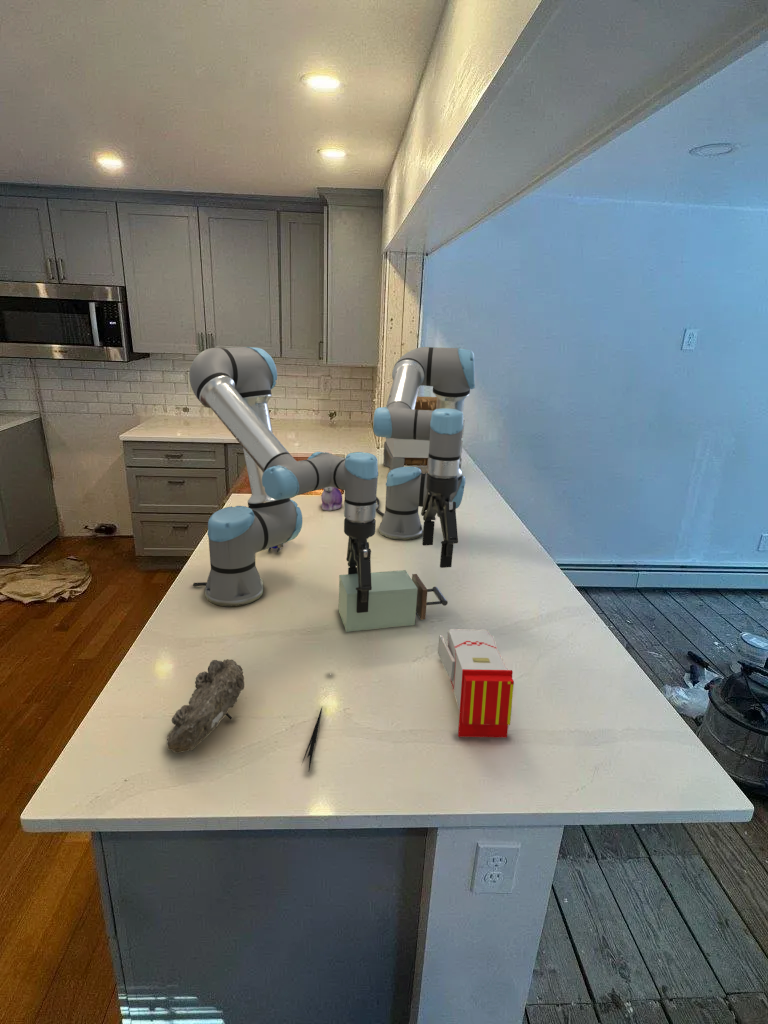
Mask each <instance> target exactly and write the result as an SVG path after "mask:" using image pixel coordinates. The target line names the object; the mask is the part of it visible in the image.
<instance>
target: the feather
mask: <svg viewBox="0 0 768 1024" xmlns="http://www.w3.org/2000/svg"><path fill="white" fill-rule="evenodd" d="M329 675H330V676H331V675H332V674H331V673H330V674H329ZM322 710H323V707H321V708H320V710H319V713H318V716H317V719H316V723H315V725H314V728H313V731H312V733H311V737H310V739H309V742H308V745H307V748H306V751H305V754H304V757H303V760H302V763H301V767H302V765H303V763H304V761H305V758H308V759H309V760H308V762H307V763H308V764H307V766H308V771H310V770H311V766H312V765H311V764H312V760H313V757H315V756H314V755H315V751H316V749H315V746H317V739H318V733H319V729H320V722H321V717H322V712H323V711H322ZM313 754H314V755H313ZM306 755H307V757H306Z"/></svg>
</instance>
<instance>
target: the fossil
mask: <svg viewBox="0 0 768 1024" xmlns="http://www.w3.org/2000/svg"><path fill="white" fill-rule="evenodd" d="M243 670H244V669H243V667H242V665H240V664H237V662H236V661H235V660H234V659H232V658H231V659H227V658H226V659H224V660H223V661H222V660H217V659H212V660H211V661H210V663H209V665H208V666H207V671H201V672H199V673H198V674H197V675H196V676H195V680H194V684H195V685H194V687H195V689H194V690H193V693H192V694H191V697H190V698H189V700H188V704H184V705H182V706H181V707H180V709H177V710H176V711H175V713H174V715H173V716H172V718H171V723H172V724H173V727H172V730H171V731H170V732H168V734H167V738H166V741H167V742H166V745H167V749H168V750H169V751H173V752H174V753H176V754H178V753H182V752H188V751H189V752H192V751H193V750H195V748H196V747H197V746H199V744H200V743H201V742H203V741H204V740H205V739H206V738H207V737H208V736H209V735H210V734H211V733H212V732H214V730H215V729H217V727H218V726H219V724H220V722H221V721H222V720H223V719H224V718H225V716H226V717H227V719H229V720H233V717H232V715H230V714H229V710H230V709H231V708H234V706H235V704H236V703H237V702H238V699H239V697H240V695H241V693H242V691H243V690H245V689H244V688H245V675H244V671H243Z"/></svg>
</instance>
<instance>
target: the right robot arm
mask: <svg viewBox="0 0 768 1024" xmlns="http://www.w3.org/2000/svg"><path fill="white" fill-rule="evenodd" d="M475 370H476V369H475V354H474V352H473V350H471V349H466V348H460V347H434V346H433V347H431V346H420V347H416V348H414V349H411V350H410V351H407V352H406V353H404V354H403V355H402V356H401V357H399V359H398V360H397V361H396V362H395V364H394V365H393V369H392V373H391V377H392V378H391V379H392V384H391V387H390V391H389V394H388V397H387V400H386V405H385V406H383V407H382V406H381V407H376V409H374V413H373V422H372V423H373V425H372V427H373V428H372V429H373V430H372V431H373V434H374V435H375V436H376V437H378V438H384V439H385V438H397V439H414V440H427V441H430V442H429V456H428V464H427V466H426V472H422V469H421V468H420V467H419V466H418V467H417V466H404V467H400V468H396V469H393V470H391V471H390V470H389V471H388V473H387V475H386V482H385V487H386V488H385V504H384V505H385V507H384V508H385V509H384V512H382V511H381V510H379V508H380V505H381V504H380V499H379V498H378V497H377V496H376V498H377V499H376V504H378V508H376V513H378V514H379V515H381V516H382V519H381V522H379V525H378V533H379V534H380V535H381V536H382V537H385V538H387V539H389V540H395V541H410V540H415V539H418V538H420V537H421V536H422V543H421V544H422V545H421V546H423V547H424V546H433V545H434V537H435V522H436V519H437V518H436V516H437V517H438V518H439V522H440V527H441V534H442V540H441V541H440V544H441V548H440V558H439V559H440V561H439V567H440V569H442V568H443V569H444V568H452V564H453V554H454V545H456V544H459V535H458V522H457V510H456V509H458V508H460V506H461V504H462V502H463V501H462V500H463V496H464V493H465V492H464V491H465V486H466V477H465V476H464V475H463V472H462V469H461V470H460V469H459V465H460V464H461V465H462V462H461V461H460V450H461V441H463V438H462V431H463V426H464V427H465V424H464V425H463V419H464V408H465V407H464V406H465V399H466V398H467V397H469V396H470V394H471V390H473V389H475V388H476V371H475ZM420 386H422V387H432V394H433V395H434V397H437V405H436V410H434V411H430V410H414V409H415V404H416V399H417V396H418V392H419V388H420ZM420 507H421V512H420V515H421V517H422V520H423V525H422V524H421V518H420V515H419V508H420Z"/></svg>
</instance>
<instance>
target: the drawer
mask: <svg viewBox="0 0 768 1024" xmlns="http://www.w3.org/2000/svg"><path fill="white" fill-rule="evenodd" d="M411 579H412V581H413V582H414V584H415V585H416V587H417V602H416V615H417V616H418V617H419V619H420V620H421V621H422V620H426V617H427V616H426V614H427V606H433V605H442V606H444V607H446V606H447V605H448V604H449V601H448V600H447V599H446V597H445V596H444V594H443V593H442V592H441V590H440V589H439V587H437V586H433V587H432V588H427V587H426V585H425V583H424V582H423V581H422V579H421V578H420V577H419V575H418V573H412V574H411ZM430 592H433V594H434V595H435V597H436V598H437V600H436V601H428V593H430Z"/></svg>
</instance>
